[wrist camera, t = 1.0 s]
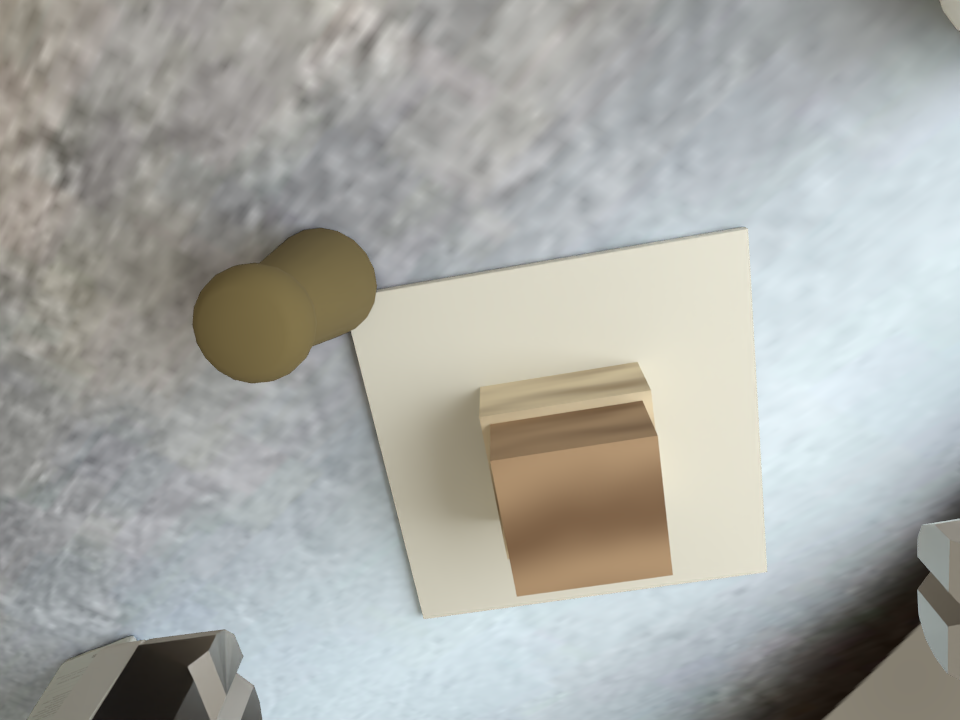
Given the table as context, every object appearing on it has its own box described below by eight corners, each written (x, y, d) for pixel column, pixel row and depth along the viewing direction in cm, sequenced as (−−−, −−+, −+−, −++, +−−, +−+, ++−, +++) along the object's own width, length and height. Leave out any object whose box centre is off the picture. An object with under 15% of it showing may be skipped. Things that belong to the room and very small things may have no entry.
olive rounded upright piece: (337, 358, 44) (259, 429, 33) (249, 291, 43) (143, 343, 33) (398, 274, 42) (337, 323, 31) (308, 204, 41) (215, 230, 31)
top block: (490, 424, 41) (490, 461, 37) (642, 400, 40) (657, 435, 37) (514, 550, 44) (516, 596, 40) (657, 530, 43) (672, 575, 39)
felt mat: (344, 295, 43) (342, 298, 43) (744, 226, 42) (747, 229, 41) (424, 612, 51) (423, 619, 51) (763, 566, 49) (767, 571, 49)
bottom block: (480, 387, 44) (479, 417, 41) (637, 361, 44) (651, 390, 40) (506, 520, 48) (507, 559, 44) (653, 498, 47) (667, 536, 43)
